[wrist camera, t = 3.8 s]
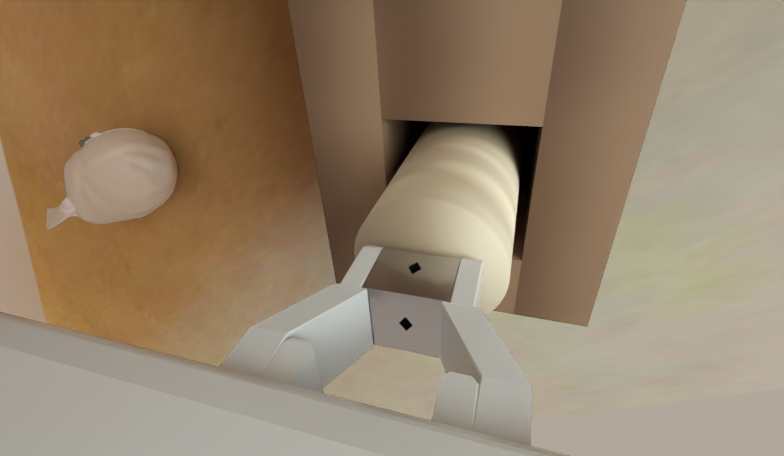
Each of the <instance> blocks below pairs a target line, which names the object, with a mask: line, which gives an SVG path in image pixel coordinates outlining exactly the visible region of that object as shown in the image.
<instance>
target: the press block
mask: <svg viewBox="0 0 784 456" xmlns="http://www.w3.org/2000/svg"><path fill="white" fill-rule="evenodd" d="M686 1H687V0H287V2H288V8H289V13H290V19H291V25H292V31H293V36H294V42H295V48H296V54H297V59H298V65H299V71H300V77H301V82H302V88H303V94H304V100H305V105H306V111H307V117H308V123H309V128H310V134H311V140H312V146H313V151H314V157H315V163H316V169H317V174H318V180H319V186H320V192H321V197H322V203H323V209H324V215H325V220H326V226H327V232H328V238H329V243H330V249H331V255H332V261H333V266H334V272H335V278H336V283H337V284H340V283H341V281H342V280H343V278H344V276H345V275H346V273H347V271H348V270H349V268H350V267H351V265H352V263H353V262H354V260H355V255H354V247H355V240H356V237H357V234H358V232H359V229H360V227H361V226H362V224H363V223H364V221H365V220H366V218H367V217H368V215H369V214H370V212H371V211H372V209H373V208H374V206H375V205H376V203H377V201H378V200H379V198H380V197H381V195H382V194H383V192H384V191H385V189H386V188H387V186H388V185H389V183H390V182H391V180H392V179H393V177H394V176H395V174H396V173H397V171H398V169H399V168H400V166H401V165H402V163H403V162H404V160H405V159H406V157H407V156H408V154H409V153H410V151H411V150H412V148H413V147H414V145H415V144H416V142H417V140H418V139H419V137H420V136H421V134H422V133H423V131H424V130H425V128H426V127H427V125H428V124H429V122H430V121H432V122H453V123H474V124H494V125H515V126H533V128H532V135H531V142H530V149H527V148H523V155H522V164H521V174H520V184H519V194H518V204H517V214H516V223H515V233H514V243H513V253H512V263H511V273H510V282H509V286H508V290H507V292H506V294H505V297H504V298H503V300H502V301H501V303H500V304H499V305H498V306H497V307H496V308H495V309H494V310H493V311H499V312H505V313H510V314H516V315H522V316H528V317H534V318H539V319H545V320H551V321H557V322H563V323H569V324H574V325H580V326H586V327H587V326H588V323H589V319H590V316H591V313H592V310H593V306H594V303H595V300H596V296H597V293H598V290H599V287H600V283H601V280H602V277H603V273H604V270H605V267H606V264H607V260H608V257H609V254H610V250H611V247H612V244H613V241H614V237H615V234H616V231H617V227H618V224H619V221H620V218H621V214H622V211H623V208H624V204H625V201H626V198H627V195H628V191H629V188H630V185H631V181H632V178H633V175H634V172H635V168H636V165H637V162H638V158H639V155H640V152H641V149H642V145H643V142H644V139H645V135H646V132H647V129H648V126H649V122H650V119H651V116H652V112H653V109H654V106H655V103H656V99H657V96H658V93H659V89H660V86H661V83H662V80H663V76H664V73H665V70H666V66H667V63H668V60H669V57H670V53H671V50H672V47H673V43H674V40H675V37H676V34H677V30H678V27H679V24H680V20H681V17H682V14H683V11H684V7H685V4H686Z"/></svg>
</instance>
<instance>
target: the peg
mask: <svg viewBox="0 0 784 456" xmlns="http://www.w3.org/2000/svg"><path fill="white" fill-rule="evenodd" d="M523 145H524V127H523V126H515V125H494V124H474V123H453V122H432V121H430V122H429V124H428V125H427V127H426V128H425V130H424V131H423V133H422V134H421V136H420V137H419V139H418V140H417V142H416V144H415V145H414V147H413V148H412V150H411V151H410V153H409V154H408V156H407V157H406V159H405V160H404V162H403V163H402V165H401V166H400V168H399V169H398V171H397V173H396V174H395V176H394V177H393V179H392V180H391V182H390V183H389V185H388V186H387V188H386V189H385V191H384V192H383V194H382V195H381V197H380V198H379V200H378V201H377V203H376V205H375V206H374V208H373V209H372V211H371V212H370V214H369V215H368V217H367V218H366V220H365V221H364V223H363V224H362V226H361V227H360V229H359V232H358V234H357V237H356V240H355V247H354V255H355V258H356V257H357V255H358V254H359V252H360V250H361V249H362V247H363V246H365V245H373V246H379V247H384V248H385V247H387V248H393V249H399V250H406V251H412V252H418V253H422V254H430V255H438V256H445V257H452V258H460V259H462V258H466V259H475V260H482V261H483V275H482V285H481V296H480V305H479V308H481V309H482V310H483V312H484V313H485V315H487V314H489V313H490V312H491V311H493V310H494V309H495V308H496V307H497V306H498V305H499V304H500V303H501V301H502V300H503V298H504V297H505V294H506V292H507V290H508V286H509V282H510V273H511V263H512V253H513V243H514V233H515V223H516V214H517V204H518V194H519V184H520V174H521V164H522V155H523Z"/></svg>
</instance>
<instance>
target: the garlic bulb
mask: <svg viewBox="0 0 784 456" xmlns="http://www.w3.org/2000/svg"><path fill="white" fill-rule="evenodd" d="M79 144H80V146H81V147H82V148H81V149H80V150H79V151H77V152H75V153H74V154H73V155H72V156H71V157H70V158H69V160H68V161H67V163H66V164H65V167H64V181H65V187H66V198H65V199H64V200H63V201H62V203H61V204H60V205H59V206H58V207H56V208H49V209H47V230H49V229H51V228H53V227H55V226H57V225H59V224H60V223H62V222H63V221H64V220H65V219H67V218H68V217H71V216H78V217H80V218H81V219H82V220H84V221H86V222H91V223H94V224H109V223H113V222H118V221H126V220H130V219H137V218H141V217H144V216H146V215H148V214H150V213H152V212H153V211H154V210H155V209H156V208H157V207H160V206H162V205H163V204H164V203H165V202H166V201H167V200H168V198H169V197H170V196H171V195H172V193H173V191H174V189H175V185H176V181H177V163H176V160H175V157H174V155H173V153H172V151H171V149H170V148H169V146H168V145H167V144H166V143H165V142H164V141H163V140H162V139H160V138H158V137H156V136H154V135H152V134H149V133H147V132H145V131H142V130H138V129H133V128H117V129H112V130H108V131H105V132H102V133H98V132H95V133H92V134H91V135H90V136H89V137H86V138H85V140H81V141H80V142H79Z"/></svg>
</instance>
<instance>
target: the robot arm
mask: <svg viewBox="0 0 784 456" xmlns="http://www.w3.org/2000/svg"><path fill="white" fill-rule="evenodd" d="M482 275H483V261H482V260H475V259H466V258H462V259H460V258H452V257H445V256H438V255H430V254H422V253H418V252H412V251H406V250H399V249H393V248H387V247H385V248H384V247H379V246H373V245H365V246H363V247H362V249H361V250H360V252H359V254H358V255H357V257H356V258H355V260H354V262H353V263H352V265H351V267H350V268H349V270H348V271H347V273H346V275H345V276H344V278H343V280H342V281H341V283H340V284H337V283H334V284H332V285H330V286H328V287H326V288H324V289H322V290H320V291H318V292H317V293H315V294H313V295H311V296H309V297H307V298H305V299H303V300H301V301H299V302H297V303H295V304H293V305H291V306H290V307H288V308H286V309H284V310H282V311H280V312H278V313H276V314H274V315H272V316H270V317H268V318H266V319H264V320H262V321H261V322H259V323H257V324H255V325H253V326H251V327H250V328H249V329H248V331H247V332H246V333H245V334H244V336H243V337H242V338H241V340H240V341H239V342H238V343H237V345H236V346H235V347H234V349H233V350H232V351H231V352H230V354H229V355H228V356H227V357H226V359H225V360H224V361H223V363H222V364H221V365H220V366H219V367H217V366H213V365H209V364H205V363H201V362H197V361H194V360H190V359H186V358H182V357H178V356H174V355H170V354H166V353H162V352H158V351H154V350H150V349H146V348H142V347H138V346H134V345H130V344H126V343H122V342H118V341H114V340H110V339H106V338H102V337H98V336H94V335H90V334H87V333H83V332H79V331H75V330H71V329H67V328H63V327H59V326H55V325H51V324H47V323H43V322H39V321H35V320H30V319H27V318H23V317H19V316H15V315H11V314H7V313H3V312H0V456H570V455H566V454H561V453H558V452H554V451H550V450H546V449H542V448H538V447H534V446H531V421H532V387H531V385H530V384H529V382H528V381H527V379H526V377H525V376H524V374H523V373H522V371H521V370H520V368H519V367H518V365H517V363H516V362H515V360H514V359H513V357H512V356H511V354H510V352H509V351H508V349H507V348H506V346H505V345H504V343H503V342H502V340H501V338H500V337H499V335H498V334H497V332H496V331H495V329H494V328H493V326H492V324H491V323H490V321H489V320H488V318H487V317H486V315H485V313H484V312H483V310H482V309H481V308H479V305H480V296H481V285H482ZM373 345H378V346H384V347H390V348H395V349H401V350H406V351H411V352H415V353H419V354H423V355H428V356H432V357H436V358H440V359H441V361H442V364H443V366H444V369H445V372H446V374H445V375H443V377H442V381H441V385H440V389H439V393H438V397H437V401H436V405H435V409H434V413H433V417H432V420H427V419H423V418H419V417H415V416H411V415H407V414H403V413H399V412H395V411H391V410H387V409H383V408H379V407H376V406H372V405H368V404H364V403H360V402H356V401H352V400H348V399H344V398H340V397H336V396H332V395H328V394H324V393H323V388H324V387H325V386H326V385H327V384H329V383H330V382H331V381H332V380H333V379H335V378H336V377H337V376H338V375H340V374H341V373H342V372H343V371H344V370H346V369H347V368H348V367H349V366H351V365H352V364H353V363H354V362H355V361H357V360H358V359H359V358H360V357H361V356H363V355H364V354H365V353H366V352H368V351H369V350H370V349H371V348H372V347H373Z"/></svg>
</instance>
